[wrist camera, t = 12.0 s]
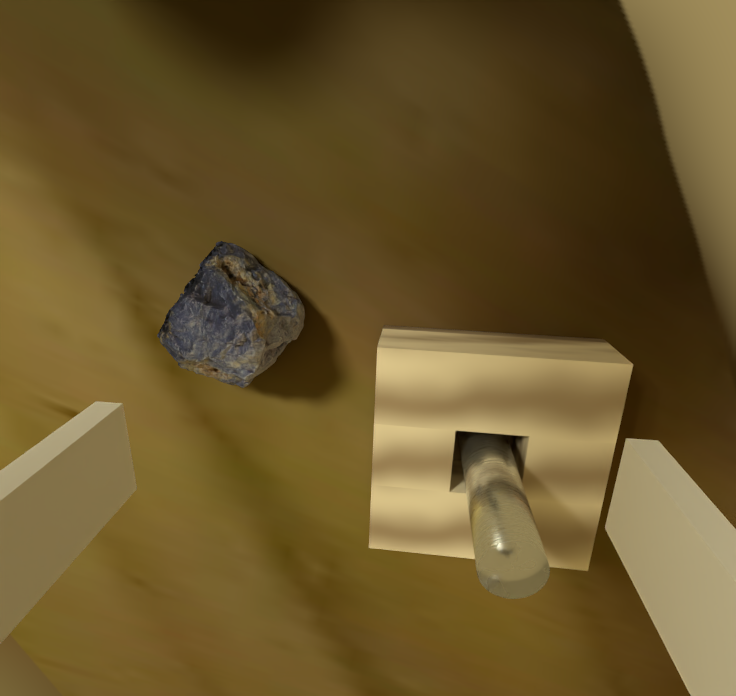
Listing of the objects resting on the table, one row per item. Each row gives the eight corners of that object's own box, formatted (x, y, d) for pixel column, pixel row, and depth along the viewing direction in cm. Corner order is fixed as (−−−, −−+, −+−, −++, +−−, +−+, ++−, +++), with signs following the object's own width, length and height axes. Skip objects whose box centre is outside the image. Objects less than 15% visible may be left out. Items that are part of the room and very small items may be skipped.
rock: (198, 217, 38) (187, 297, 31) (312, 270, 43) (325, 350, 36) (148, 311, 43) (129, 398, 36) (255, 349, 49) (256, 431, 42)
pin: (460, 411, 42) (480, 537, 27) (507, 415, 42) (554, 545, 27) (456, 452, 44) (473, 594, 29) (502, 456, 43) (544, 602, 28)
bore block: (383, 325, 42) (377, 347, 36) (603, 339, 40) (633, 364, 34) (375, 504, 47) (368, 547, 42) (567, 523, 46) (587, 570, 40)
